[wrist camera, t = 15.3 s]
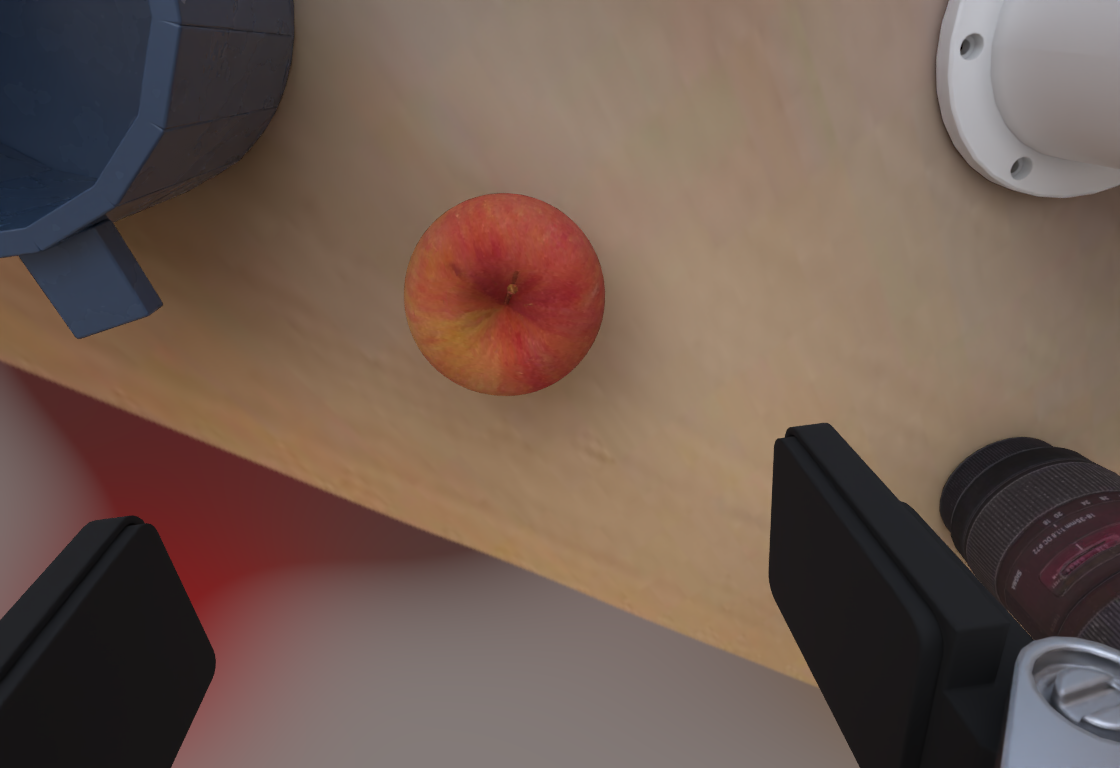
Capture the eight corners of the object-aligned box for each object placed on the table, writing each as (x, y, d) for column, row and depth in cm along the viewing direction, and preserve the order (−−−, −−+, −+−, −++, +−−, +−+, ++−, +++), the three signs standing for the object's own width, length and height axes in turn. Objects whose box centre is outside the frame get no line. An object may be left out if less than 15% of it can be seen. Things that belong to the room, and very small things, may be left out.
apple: (419, 338, 30) (390, 428, 23) (419, 168, 26) (385, 209, 19) (582, 348, 30) (604, 438, 23) (601, 183, 27) (633, 229, 20)
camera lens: (952, 420, 33) (1248, 663, 20) (1100, 426, 34) (1480, 664, 21) (903, 547, 37) (1127, 825, 24) (1038, 550, 38) (1329, 821, 24)
